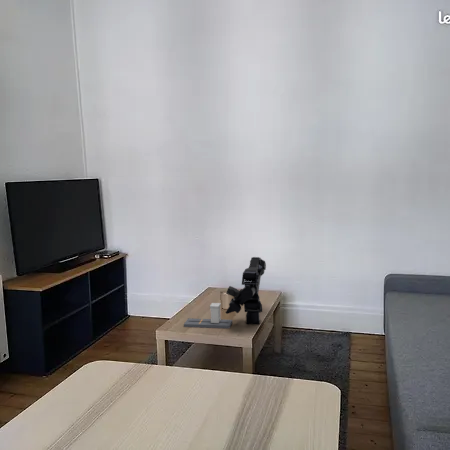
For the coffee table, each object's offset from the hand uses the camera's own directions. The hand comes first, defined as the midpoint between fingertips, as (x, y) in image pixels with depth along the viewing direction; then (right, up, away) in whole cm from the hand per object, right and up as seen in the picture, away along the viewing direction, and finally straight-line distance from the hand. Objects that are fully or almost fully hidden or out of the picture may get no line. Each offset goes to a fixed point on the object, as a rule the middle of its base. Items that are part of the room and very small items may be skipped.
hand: (226, 313), depth 238 cm
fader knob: (-5, -5, +2) cm, 7 cm away
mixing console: (-9, -7, +3) cm, 12 cm away
